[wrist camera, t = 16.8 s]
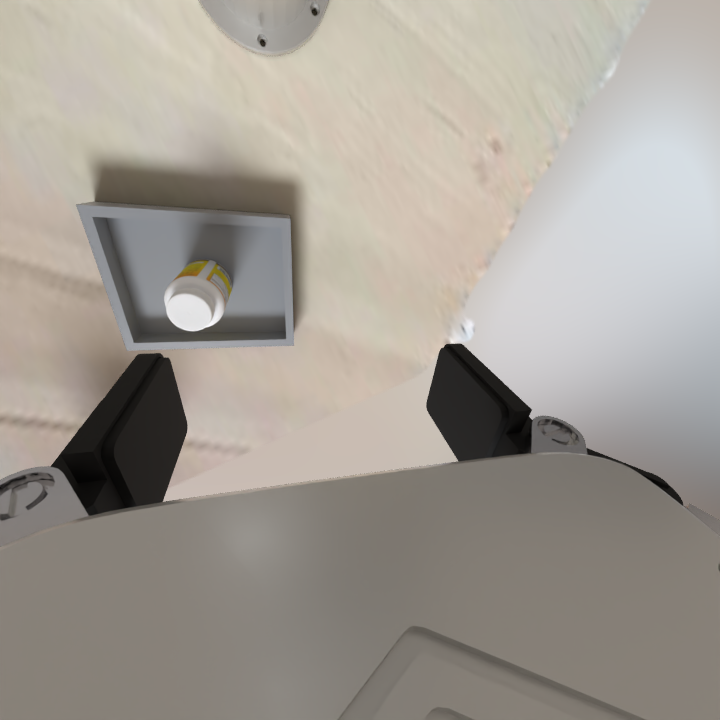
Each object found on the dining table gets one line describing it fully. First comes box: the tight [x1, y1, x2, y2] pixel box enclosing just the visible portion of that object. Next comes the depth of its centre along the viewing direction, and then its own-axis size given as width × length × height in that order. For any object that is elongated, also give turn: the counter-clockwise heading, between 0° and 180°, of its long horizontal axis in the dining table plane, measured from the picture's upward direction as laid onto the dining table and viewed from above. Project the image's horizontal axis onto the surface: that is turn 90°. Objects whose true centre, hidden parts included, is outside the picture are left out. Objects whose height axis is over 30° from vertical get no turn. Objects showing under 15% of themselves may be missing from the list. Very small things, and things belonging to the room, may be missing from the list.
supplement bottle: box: [164, 259, 232, 331], centre depth 33 cm, size 6×6×10 cm
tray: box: [76, 202, 294, 351], centre depth 37 cm, size 16×20×4 cm
